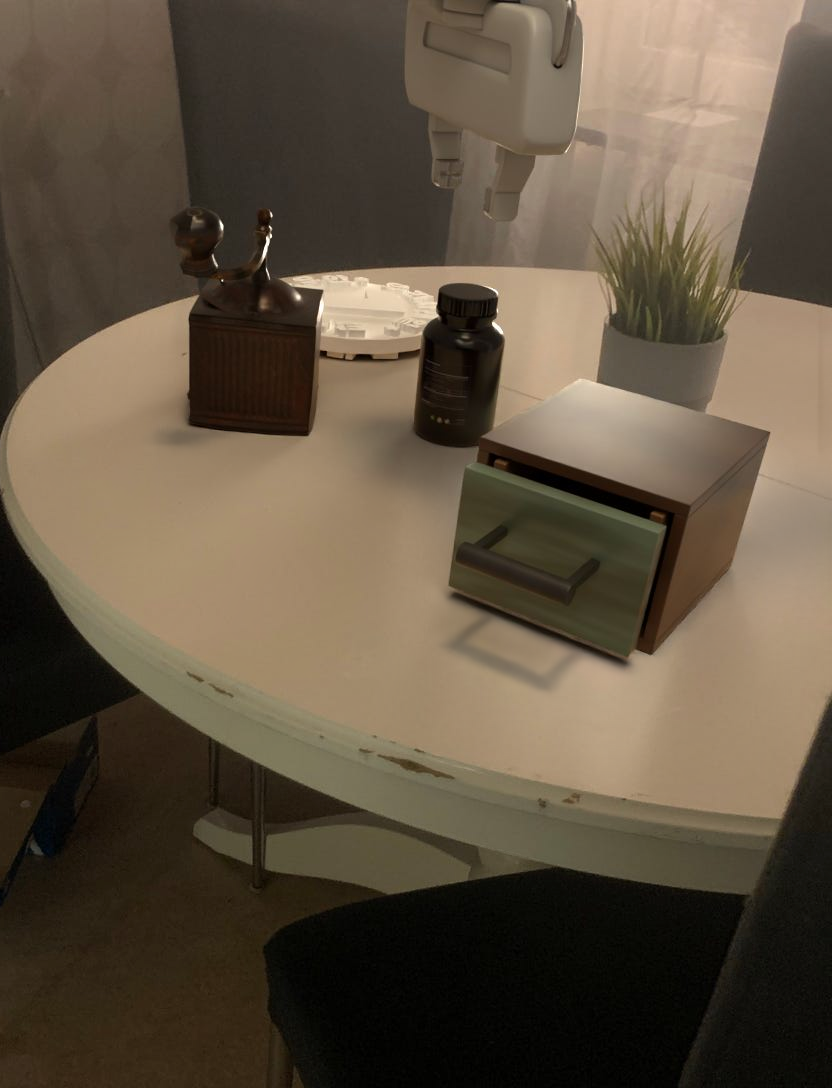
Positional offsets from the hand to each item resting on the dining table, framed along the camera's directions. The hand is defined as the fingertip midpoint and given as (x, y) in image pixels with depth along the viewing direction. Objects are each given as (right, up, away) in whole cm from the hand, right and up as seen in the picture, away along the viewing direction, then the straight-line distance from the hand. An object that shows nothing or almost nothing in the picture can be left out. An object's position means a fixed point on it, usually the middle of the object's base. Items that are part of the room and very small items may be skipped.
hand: (471, 202), depth 76 cm
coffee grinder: (-17, -11, +19) cm, 27 cm away
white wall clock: (-8, +2, +40) cm, 41 cm away
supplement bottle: (0, -12, +19) cm, 23 cm away
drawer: (+6, -27, -4) cm, 28 cm away
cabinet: (+9, -25, 0) cm, 27 cm away
